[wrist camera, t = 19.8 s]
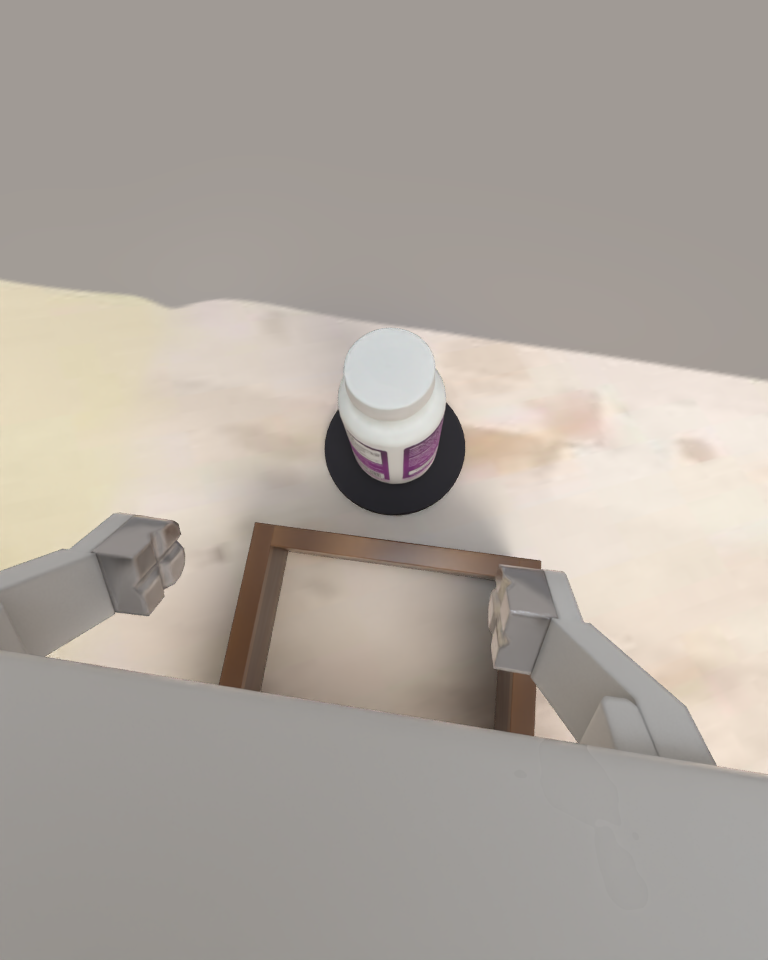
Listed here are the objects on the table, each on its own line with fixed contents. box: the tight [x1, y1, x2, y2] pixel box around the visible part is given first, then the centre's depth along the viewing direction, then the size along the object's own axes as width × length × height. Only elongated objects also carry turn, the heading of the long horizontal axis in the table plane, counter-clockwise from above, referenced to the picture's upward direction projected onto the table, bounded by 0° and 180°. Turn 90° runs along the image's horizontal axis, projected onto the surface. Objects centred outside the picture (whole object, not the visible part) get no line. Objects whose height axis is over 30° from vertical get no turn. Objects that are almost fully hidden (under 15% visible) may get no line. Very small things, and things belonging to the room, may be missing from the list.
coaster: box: [325, 403, 465, 515], centre depth 28 cm, size 9×9×1 cm
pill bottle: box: [338, 328, 446, 484], centre depth 23 cm, size 5×5×10 cm
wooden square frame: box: [219, 522, 541, 736], centre depth 22 cm, size 15×15×4 cm
